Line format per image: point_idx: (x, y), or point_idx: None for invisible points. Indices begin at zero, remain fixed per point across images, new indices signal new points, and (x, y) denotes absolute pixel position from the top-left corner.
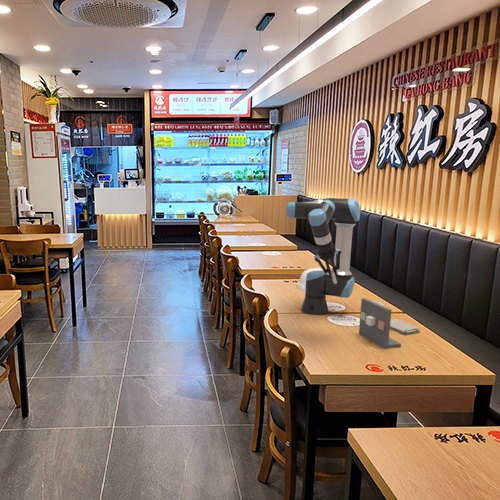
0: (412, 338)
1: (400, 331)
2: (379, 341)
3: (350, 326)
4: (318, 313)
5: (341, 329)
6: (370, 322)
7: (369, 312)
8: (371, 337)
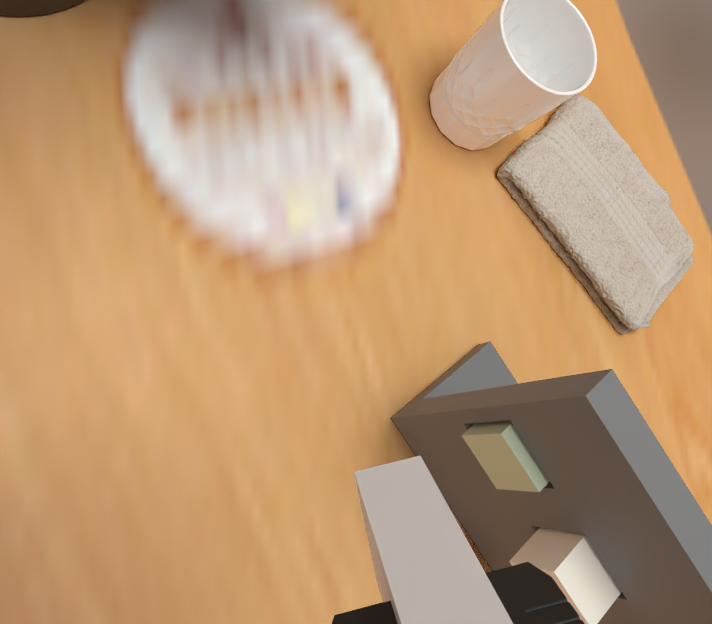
0: (659, 379)
1: (615, 313)
2: None
3: (324, 261)
4: (39, 7)
5: (264, 357)
6: None
7: (588, 520)
8: (488, 543)
